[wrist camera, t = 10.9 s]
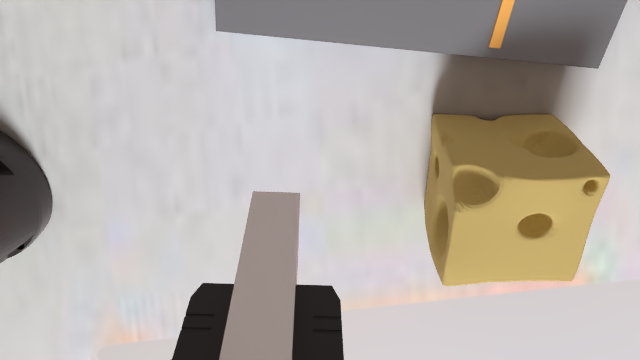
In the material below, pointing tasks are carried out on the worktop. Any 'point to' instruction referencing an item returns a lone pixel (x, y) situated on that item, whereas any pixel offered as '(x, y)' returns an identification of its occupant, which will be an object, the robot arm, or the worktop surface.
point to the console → (439, 25)
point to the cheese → (509, 198)
